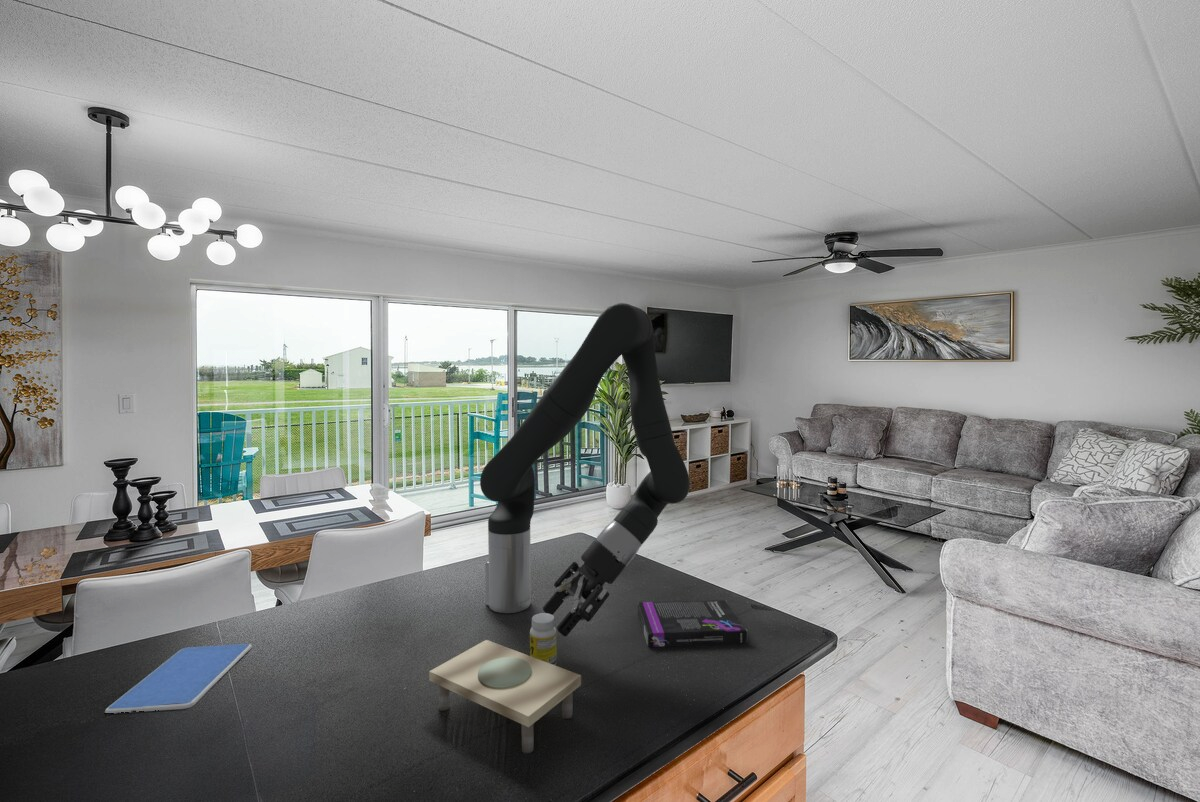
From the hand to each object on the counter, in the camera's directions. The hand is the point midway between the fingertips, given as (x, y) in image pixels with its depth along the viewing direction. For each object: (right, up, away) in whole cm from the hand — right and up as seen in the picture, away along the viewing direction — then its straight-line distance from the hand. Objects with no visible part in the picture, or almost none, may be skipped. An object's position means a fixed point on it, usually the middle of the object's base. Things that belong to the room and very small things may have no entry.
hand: (553, 622), depth 98 cm
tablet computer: (-62, -8, -4) cm, 63 cm away
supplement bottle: (-2, -7, 0) cm, 8 cm away
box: (+27, -7, +13) cm, 31 cm away
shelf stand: (-6, -8, -14) cm, 17 cm away
